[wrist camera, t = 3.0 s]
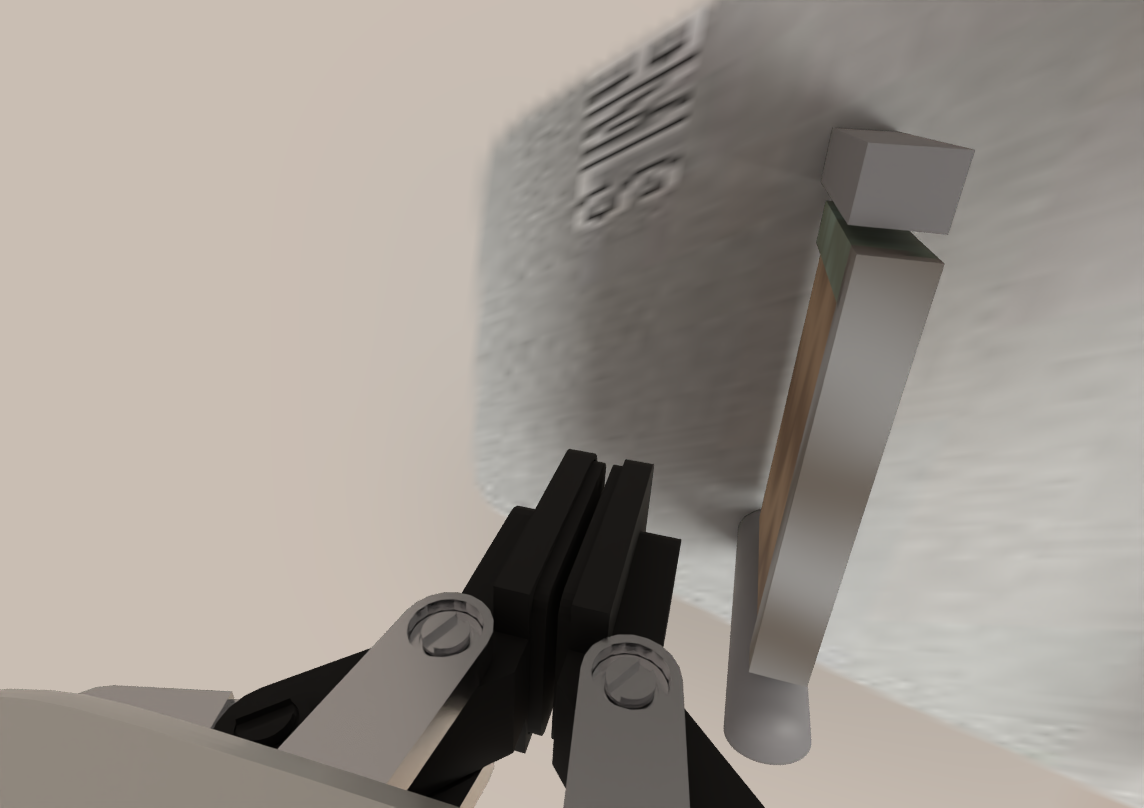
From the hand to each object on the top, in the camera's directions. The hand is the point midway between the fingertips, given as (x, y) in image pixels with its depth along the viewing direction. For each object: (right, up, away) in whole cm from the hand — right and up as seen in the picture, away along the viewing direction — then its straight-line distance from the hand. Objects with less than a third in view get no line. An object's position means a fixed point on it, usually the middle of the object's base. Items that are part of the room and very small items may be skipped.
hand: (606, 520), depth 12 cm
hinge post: (+10, -5, +20) cm, 23 cm away
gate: (+10, +3, +15) cm, 18 cm away
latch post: (+11, +12, +12) cm, 20 cm away
